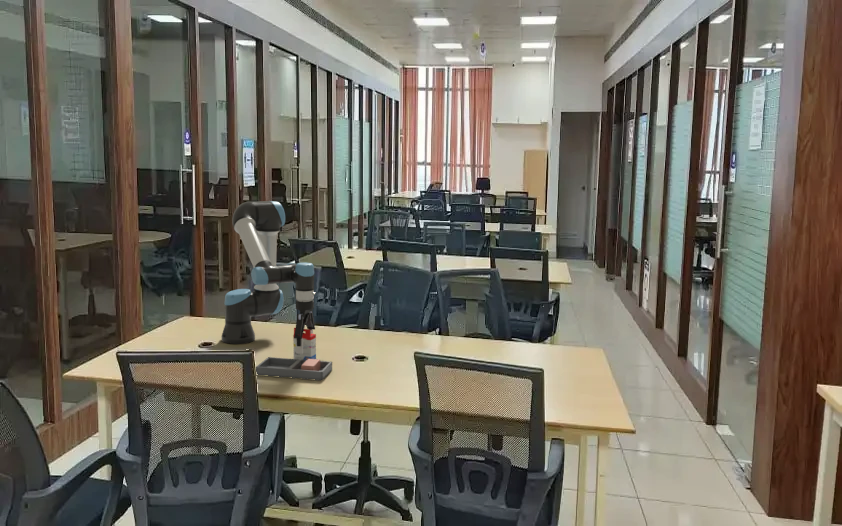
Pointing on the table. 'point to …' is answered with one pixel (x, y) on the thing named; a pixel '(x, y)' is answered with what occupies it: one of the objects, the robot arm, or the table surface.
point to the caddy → (292, 368)
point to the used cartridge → (311, 365)
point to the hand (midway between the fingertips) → (304, 348)
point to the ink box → (306, 346)
